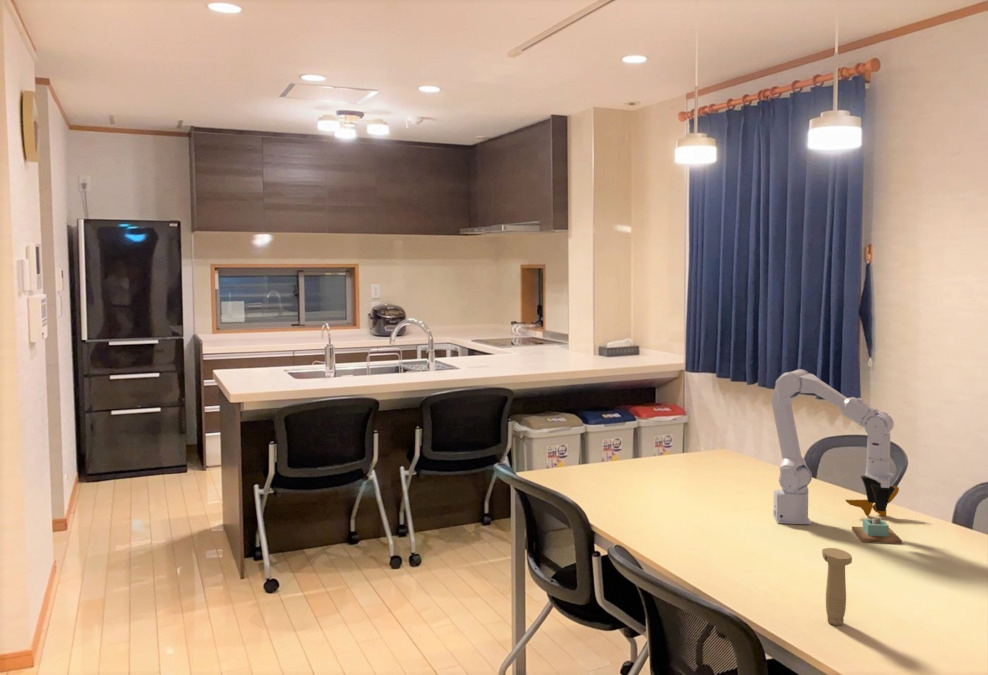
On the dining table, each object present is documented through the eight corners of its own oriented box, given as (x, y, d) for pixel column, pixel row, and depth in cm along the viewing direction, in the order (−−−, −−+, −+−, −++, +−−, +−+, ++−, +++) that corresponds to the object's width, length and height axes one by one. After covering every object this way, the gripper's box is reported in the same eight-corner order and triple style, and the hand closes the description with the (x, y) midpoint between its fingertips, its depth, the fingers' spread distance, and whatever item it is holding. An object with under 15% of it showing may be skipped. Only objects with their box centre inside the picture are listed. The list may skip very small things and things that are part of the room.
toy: (909, 506, 236) (895, 476, 236) (860, 529, 237) (846, 499, 236) (904, 503, 239) (890, 474, 238) (856, 526, 240) (842, 497, 239)
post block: (861, 542, 216) (862, 523, 216) (851, 529, 226) (852, 512, 225) (901, 543, 214) (902, 525, 214) (889, 531, 224) (890, 513, 224)
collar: (867, 535, 218) (868, 524, 218) (862, 529, 223) (862, 519, 223) (888, 536, 217) (888, 525, 217) (882, 530, 222) (882, 519, 222)
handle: (834, 630, 165) (835, 559, 163) (815, 617, 171) (817, 549, 170) (855, 628, 165) (857, 557, 164) (836, 615, 172) (838, 547, 170)
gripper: (902, 464, 210) (900, 515, 212) (885, 451, 225) (883, 499, 226) (874, 464, 211) (872, 514, 213) (858, 451, 226) (857, 498, 227)
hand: (876, 506), depth 219 cm, fingers open, 7 cm apart
